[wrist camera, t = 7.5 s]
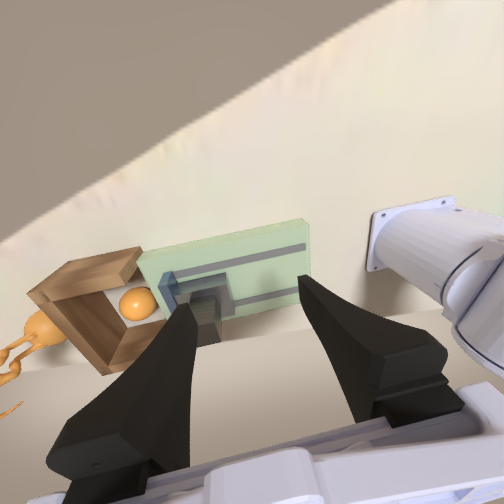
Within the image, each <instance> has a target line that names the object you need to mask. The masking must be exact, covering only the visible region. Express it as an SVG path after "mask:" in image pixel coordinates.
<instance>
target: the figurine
mask: <svg viewBox="0 0 504 504" xmlns="http://www.w3.org/2000/svg"><path fill="white" fill-rule="evenodd" d="M24 335H25V336H24V337H22V338H20V339H19V340H17V341H15V342H14V343H12V344H10V345H8V346H7V347H6V348H5V349H2V350H0V366H2V365H3V364H4V363H5V361H6V360H7V358H8V356H9V353H10V350H11V349H14V348H15V347H17V346H19V345H21V344H22V343H24V342H26V341H29V342H30V343H32V344H33V346H32V347H30V348H29V349H27V350H26V351H24V352H23V353H21V354H20V355H18V356H17V357H16V358H15V359H14V360H13V361H12V362H11V363H10V364H9V368H10V370H12V371H10V372H8V373H5V374H0V387H1V386H2V385H4V384H5V383H7V382H9V381H10V380H12V379H15V378H16V377H18V376H19V374H20V372H21V362H20V360H21V359H22V358H24V357H26V356H27V355H29V354H30V353H32V352H34V351H35V350H37V349H41V348H44V347H46V346H52V345H56V344H58V343H61V342H63V341H64V340H66V339H67V337H66V336H65V335H64V334H63V333H62V332H61V331H60V330H59V328H58V327H57V326H56V325H55V324H54V323H53V322H52V321H51V320H50V319H49V318H48V317H47V316H46V314H45V313H44V312H43V311H42V310H39V311H37V312H36V313H34V314H33V315H32V316H31V317H30V318H29V319H28V320H27V322H26V324H25V327H24ZM22 403H23V401H22V402H20V403H19V404H18V405H16V406H14V407H13V408H12V409H10V410H9V411H7V412H4V413H2V414H0V419H1V418H3V417H4V416H6V415H8V414H9V413H10V412H12V411H13V410H14V409H16V408H17V407H18V406H19V405H21V404H22Z"/></svg>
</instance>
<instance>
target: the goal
mask: <svg viewBox="0 0 504 504" xmlns="http://www.w3.org/2000/svg"><path fill="white" fill-rule="evenodd" d="M142 253H143V251H142V249H141V247H140V246H139V247H134V248H129V249H125V250H120V251H115V252H111V253H106V254H101V255H96V256H92V257H87V258H82V259H78V260H73V261H68V262H67V263H66V264H64V265H63V266H62V267H60V268H59V269H58V270H56V271H55V272H54V273H53V274H51V275H50V276H49V277H47V278H46V279H45V280H43V281H42V282H41V283H39V284H38V285H37V286H35V287H34V288H33V289H32V290H30V291H29V292H28V293H26V294H27V295H28V296H29V297H30V298H31V299H32V300H33V301H34V303H35V304H36V305H37V306H38V307H39V308H40V309H41V310H42V311H43V312H44V313H45V314H46V316H47V317H48V318H49V319H50V320H51V321H52V322H53V323H54V324H55V325H56V326H57V327H58V328H59V330H60V331H61V332H62V333H63V334H64V335H65V336H66V337H67V338H68V339H69V340H70V341H71V343H72V344H73V345H74V346H75V347H76V348H77V349H78V350H79V351H80V352H81V353H82V354H83V356H84V357H85V358H86V359H87V360H88V361H89V362H90V363H91V364H92V365H93V366H94V367H95V368H96V370H97V371H98V372H99V373H100V374H101V375H102V376H104V375H108V374H113V373H117V372H121V371H125V370H126V369H127V368H128V367H129V366H131V365H132V363H133V362H134V361H135V360H136V359H137V358H138V357H139V356H140V355H141V354H142V353H143V351H144V350H145V349H146V348H147V347H148V345H149V344H150V343H151V342H152V340H153V339H154V338H155V336H156V335H157V334H158V333H159V331H160V330H161V328H162V327H163V326H164V324H165V323H166V321H167V320H166V319H165V320H160V321H156V322H152V323H147V324H143V325H139V326H134V327H130V328H127V327H126V325H125V324H124V322H123V321H122V319H121V318H120V316H119V315H118V313H117V312H116V311H115V309H114V308H113V306H112V305H111V303H110V302H109V300H108V299H107V297H106V296H105V294H104V293H103V291H102V290H106V289H111V288H115V287H120V286H124V285H126V284H127V282H128V281H129V279H130V278H131V276H132V275H133V273H134V272H135V270H136V269H137V267H138V265H137V263H136V261H137V260H138V258H139V257H140V256H141V254H142Z"/></svg>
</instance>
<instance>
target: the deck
mask: <svg viewBox="0 0 504 504" xmlns="http://www.w3.org/2000/svg"><path fill="white" fill-rule="evenodd" d="M136 263H137V265H138V267H139V269H140V270H141V272H142V274H143V276H144V278H145V280H146V282H147V284H148V286H149V287H150V289H151V291H152V293H153V295H154V297H155V299H156V301H157V303H158V304H159V306H160V308H161V310H162V312H163V314H164V316H165V318H166V320H168V319H169V317H170V316H171V313H170V311H169V309H168V307H167V305H166V303H165V301H164V299H163V297H162V295H161V293H160V291H159V289H158V287H157V286H158V284H159V282H160V279H161V277H162V275H163V273H164V272H169V271H172V273H173V275H174V277H175V279H176V282H177V283H180V282H184V281H189V280H193V279H198V278H202V277H207V276H211V275H216V274H220V273H225V272H226V274H227V277H228V281H229V284H230V288H231V291H232V295H233V299H234V303H235V314H236V315H233V316H228V317H224V318H221V321H226V320H230V319H234V318H238V317H243V316H247V315H251V314H256V313H260V312H264V311H268V310H273V309H277V308H281V307H286V306H290V305H294V304H299V303H301V302H300V300H299V289H298V279H297V276H301V275H305V274H307V275H308V276H310V277H311V264H310V235H309V224H308V223H307V222H306V221H305V220H303V219H302V218H300V219H295V220H291V221H286V222H281V223H277V224H272V225H267V226H263V227H258V228H253V229H249V230H244V231H239V232H235V233H230V234H225V235H221V236H216V237H211V238H207V239H202V240H197V241H193V242H188V243H183V244H179V245H174V246H169V247H165V248H160V249H155V250H151V251H146V252H143V253H142V254H141V256H140V257H139V258H138V260H137V261H136Z"/></svg>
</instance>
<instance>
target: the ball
mask: <svg viewBox="0 0 504 504" xmlns="http://www.w3.org/2000/svg"><path fill="white" fill-rule="evenodd" d="M156 304H157V301H156V299H155V297H154V295H153V293H152V291H151V290H149V289H147V288H143V287H137V288H133V289H131V290H129V291H127V292H126V293H125V294H124V295H123V296H122V298H121V300H120V303H119V310H120V313H121V314H122V316H123V317H125V318H126V319H128V320H131V321H140V320H144V319H146V318H147V317H149V316H150V315H151V314H152V313H153V312H154V310H155V308H156Z"/></svg>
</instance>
